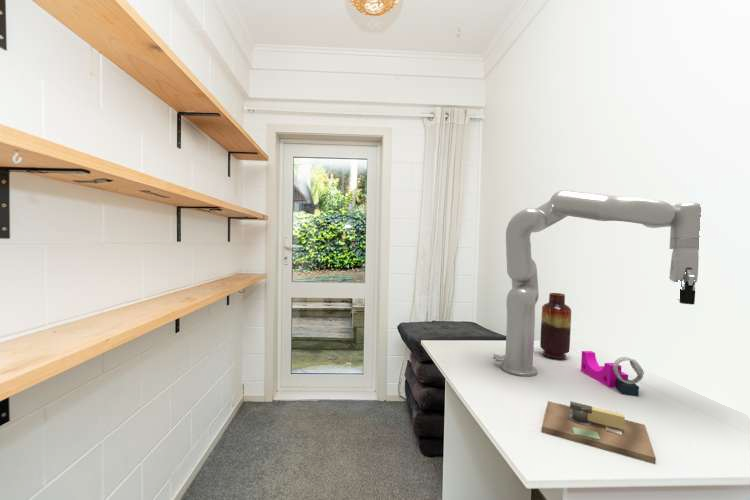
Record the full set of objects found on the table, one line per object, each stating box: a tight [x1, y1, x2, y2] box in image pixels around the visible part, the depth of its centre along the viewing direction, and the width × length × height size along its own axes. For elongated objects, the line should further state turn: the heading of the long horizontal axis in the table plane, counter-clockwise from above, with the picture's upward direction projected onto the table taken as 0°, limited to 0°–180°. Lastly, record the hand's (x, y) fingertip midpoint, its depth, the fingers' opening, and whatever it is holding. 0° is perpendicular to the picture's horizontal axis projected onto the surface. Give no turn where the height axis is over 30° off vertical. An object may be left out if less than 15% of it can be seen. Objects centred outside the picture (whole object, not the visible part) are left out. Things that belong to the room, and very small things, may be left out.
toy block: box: [580, 350, 629, 389], centre depth 122 cm, size 15×6×8 cm, turn 2°
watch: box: [613, 356, 645, 397], centre depth 111 cm, size 6×8×11 cm
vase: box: [539, 292, 572, 360], centre depth 146 cm, size 11×11×26 cm
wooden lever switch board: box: [541, 400, 657, 464], centre depth 86 cm, size 22×16×2 cm
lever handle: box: [569, 400, 626, 430], centre depth 87 cm, size 12×4×4 cm, turn 59°
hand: (682, 301), depth 104 cm, fingers open, 9 cm apart
